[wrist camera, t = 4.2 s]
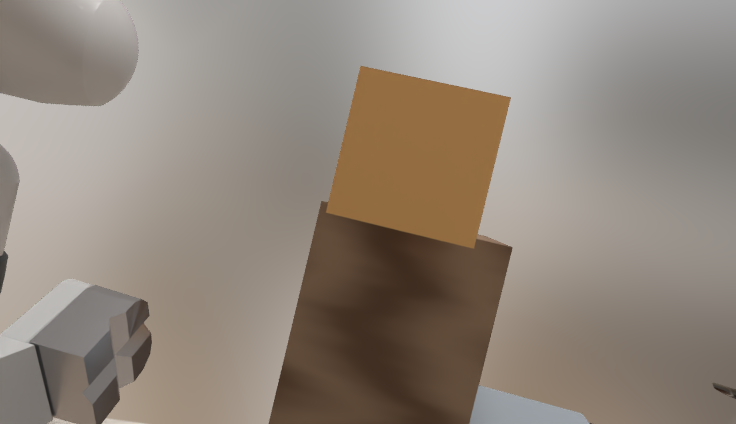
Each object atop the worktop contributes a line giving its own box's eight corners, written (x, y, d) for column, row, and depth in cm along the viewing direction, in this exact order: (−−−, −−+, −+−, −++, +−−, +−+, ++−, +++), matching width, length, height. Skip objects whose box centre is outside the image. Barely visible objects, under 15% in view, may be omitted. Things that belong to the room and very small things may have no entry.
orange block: (325, 212, 13) (360, 66, 13) (397, 214, 37) (409, 163, 37) (473, 248, 13) (510, 97, 12) (449, 226, 36) (461, 175, 36)
